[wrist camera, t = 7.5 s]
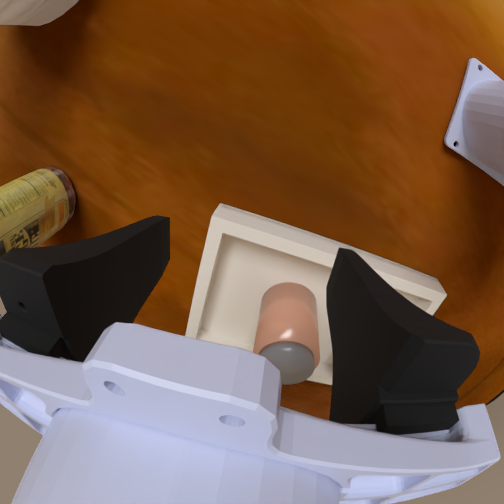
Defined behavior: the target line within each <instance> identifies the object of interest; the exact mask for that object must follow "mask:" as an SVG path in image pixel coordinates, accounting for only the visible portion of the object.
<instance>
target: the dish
mask: <svg viewBox="0 0 504 504" xmlns="http://www.w3.org/2000/svg"><path fill="white" fill-rule="evenodd" d="M339 247H340V248H346V249H351V250H354V251H355V252H356V253H357V254H358V255H359V256H360V257H361V258H362V259H364V260H365V262H366V263H367V264H368V265H369V266H370V267H371V268H372V269H373V270H374V271H375V272H376V273H377V274H379V275H380V276H381V277H382V278H383V279H384V280H385V281H386V282H387V283H388V284H389V285H390V286H391V287H393V288H394V289H395V290H396V291H397V292H399V293H400V294H401V295H402V296H404V297H405V298H406V299H408V300H409V301H410V302H412V303H413V304H415V305H416V306H418V307H419V308H421V309H422V310H424V311H425V312H427V313H429V314H430V315H433V314H434V313H435V311H436V310H437V309H438V307H439V306H440V304H441V303H442V302H443V300H444V299H445V297H446V296H447V294H446V292H445V291H444V289H443V287H442V286H441V284H440V283H439V281H438V279H437V278H434V277H432V276H429V275H427V274H424V273H422V272H419V271H416V270H414V269H411V268H409V267H406V266H403V265H401V264H398V263H395V262H393V261H390V260H387V259H385V258H382V257H379V256H376V255H374V254H371V253H368V252H365V251H363V250H360V249H357V248H354V247H352V246H349V245H346V244H343V243H340V242H337V241H335V240H332V239H329V238H326V237H323V236H320V235H317V234H314V233H311V232H308V231H305V230H302V229H299V228H297V227H294V226H291V225H288V224H284V223H281V222H278V221H275V220H272V219H269V218H266V217H263V216H260V215H257V214H254V213H251V212H247V211H244V210H241V209H238V208H235V207H231V206H228V205H225V204H222V203H220V204H219V206H218V207H217V209H216V210H215V212H214V213H213V215H212V218H211V222H210V226H209V230H208V234H207V238H206V242H205V247H204V251H203V255H202V260H201V264H200V269H199V273H198V278H197V282H196V287H195V291H194V296H193V301H192V306H191V310H190V315H189V320H188V325H187V330H186V335H185V336H186V337H190V338H195V339H199V340H203V341H208V342H213V343H217V344H222V345H227V346H232V347H238V348H242V349H245V350H247V351H250V352H253V348H254V342H255V336H256V330H257V324H258V318H259V312H260V305H261V300H262V297H263V295H264V293H265V292H266V291H267V290H268V289H269V288H270V287H272V286H274V285H276V284H279V283H285V282H293V283H298V284H301V285H303V286H305V287H307V288H308V289H309V290H310V291H311V292H312V293H313V294H314V296H315V298H316V304H317V317H318V331H319V347H320V362H319V364H318V366H317V367H316V369H315V370H314V372H313V374H312V375H311V376H310V377H309V378H308V379H306V380H309V381H314V382H319V383H324V384H329V385H332V376H333V365H332V360H333V355H332V344H331V336H330V329H329V322H328V315H327V308H326V286H327V283H328V280H329V277H330V274H331V271H332V268H333V265H334V262H335V258H336V255H337V252H338V249H339Z"/></svg>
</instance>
